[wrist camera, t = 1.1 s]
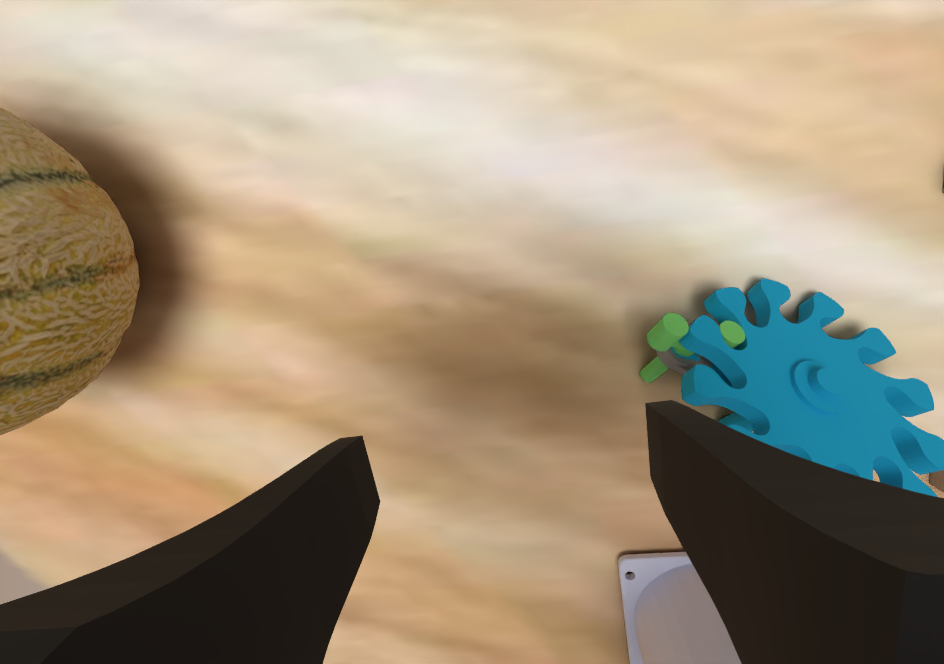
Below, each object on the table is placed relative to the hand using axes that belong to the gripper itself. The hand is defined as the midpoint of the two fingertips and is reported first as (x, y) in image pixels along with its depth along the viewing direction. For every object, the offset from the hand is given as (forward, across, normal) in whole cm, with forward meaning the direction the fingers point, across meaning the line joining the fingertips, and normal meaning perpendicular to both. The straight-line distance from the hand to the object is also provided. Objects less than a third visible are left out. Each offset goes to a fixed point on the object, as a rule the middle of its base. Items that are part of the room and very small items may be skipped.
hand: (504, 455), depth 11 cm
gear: (+11, -11, +3) cm, 15 cm away
